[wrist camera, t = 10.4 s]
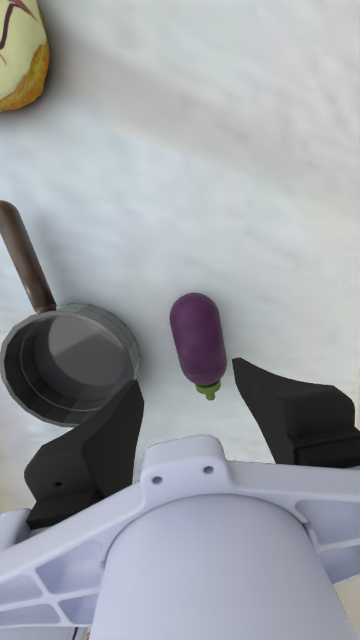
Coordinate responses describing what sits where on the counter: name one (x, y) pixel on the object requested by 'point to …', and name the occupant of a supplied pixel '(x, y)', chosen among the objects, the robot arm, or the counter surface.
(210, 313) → the eggplant
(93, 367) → the pan
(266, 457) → the counter surface
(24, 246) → the pan handle
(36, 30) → the decorated donut
